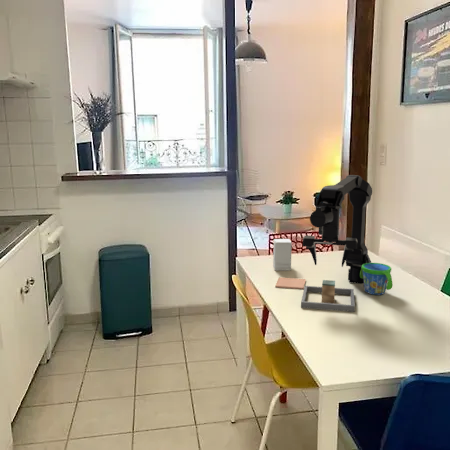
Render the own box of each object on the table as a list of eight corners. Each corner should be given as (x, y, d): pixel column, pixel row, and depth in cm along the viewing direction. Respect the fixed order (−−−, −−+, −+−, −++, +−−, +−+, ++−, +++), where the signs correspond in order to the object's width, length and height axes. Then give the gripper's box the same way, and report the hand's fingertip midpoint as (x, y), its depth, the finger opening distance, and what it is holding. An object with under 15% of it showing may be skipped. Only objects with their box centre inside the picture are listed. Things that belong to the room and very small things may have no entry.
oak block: (334, 299, 178) (335, 280, 176) (334, 303, 173) (335, 284, 172) (322, 298, 179) (322, 279, 177) (321, 302, 174) (322, 283, 173)
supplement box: (291, 270, 212) (291, 242, 210) (274, 270, 212) (274, 242, 210) (289, 265, 220) (290, 238, 217) (273, 265, 220) (273, 238, 217)
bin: (353, 294, 183) (353, 289, 182) (354, 311, 165) (354, 306, 165) (304, 290, 187) (304, 285, 186) (300, 307, 169) (301, 302, 169)
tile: (305, 280, 199) (305, 279, 198) (303, 289, 188) (303, 287, 188) (278, 278, 201) (278, 277, 201) (275, 287, 191) (275, 285, 190)
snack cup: (399, 297, 179) (401, 270, 177) (374, 300, 176) (376, 273, 174) (374, 284, 193) (376, 259, 191) (351, 287, 190) (352, 262, 188)
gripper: (357, 219, 176) (355, 261, 179) (305, 217, 180) (304, 258, 183) (358, 225, 165) (356, 269, 168) (303, 223, 170) (301, 266, 173)
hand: (328, 265), depth 174 cm, fingers open, 9 cm apart
